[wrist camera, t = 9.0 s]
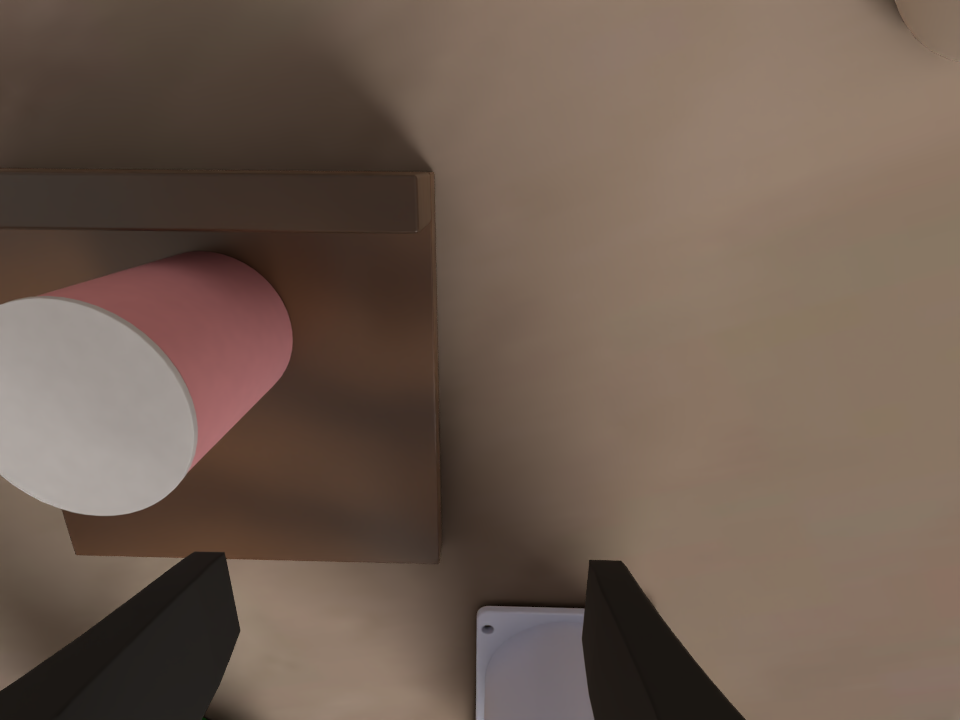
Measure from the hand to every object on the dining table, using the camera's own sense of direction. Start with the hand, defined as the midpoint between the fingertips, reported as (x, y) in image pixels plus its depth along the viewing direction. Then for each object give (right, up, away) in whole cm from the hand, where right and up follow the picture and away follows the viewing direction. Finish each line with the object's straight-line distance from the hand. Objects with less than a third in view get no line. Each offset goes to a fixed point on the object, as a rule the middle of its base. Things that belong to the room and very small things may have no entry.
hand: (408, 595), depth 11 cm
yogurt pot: (-8, +6, +8) cm, 12 cm away
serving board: (-8, +4, +10) cm, 13 cm away
